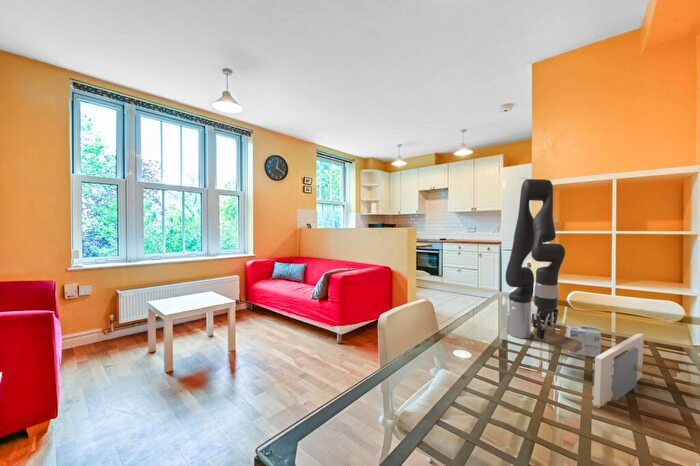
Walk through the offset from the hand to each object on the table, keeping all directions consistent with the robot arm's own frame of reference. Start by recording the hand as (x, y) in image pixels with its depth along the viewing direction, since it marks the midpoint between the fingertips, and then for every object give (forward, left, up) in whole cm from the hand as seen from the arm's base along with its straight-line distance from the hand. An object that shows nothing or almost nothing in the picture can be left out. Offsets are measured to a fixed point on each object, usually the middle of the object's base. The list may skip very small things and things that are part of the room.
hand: (544, 336), depth 114 cm
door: (+24, +4, -11) cm, 27 cm away
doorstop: (+5, 0, -1) cm, 5 cm away
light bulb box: (+3, +23, -12) cm, 26 cm away
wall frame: (+22, +4, -12) cm, 25 cm away
